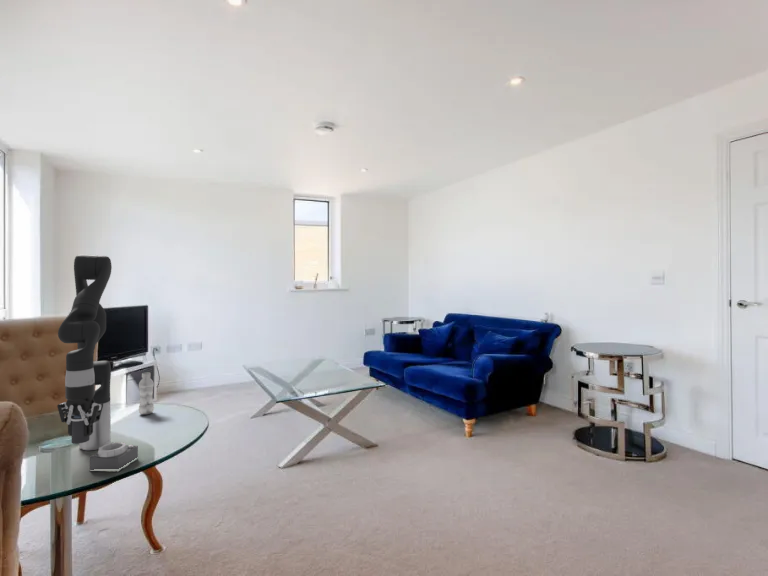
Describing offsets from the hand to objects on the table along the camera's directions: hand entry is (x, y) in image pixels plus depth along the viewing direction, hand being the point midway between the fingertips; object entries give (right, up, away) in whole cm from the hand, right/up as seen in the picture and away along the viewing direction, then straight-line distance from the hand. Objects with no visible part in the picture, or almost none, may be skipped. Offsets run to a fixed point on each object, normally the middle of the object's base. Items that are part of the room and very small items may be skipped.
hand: (80, 434), depth 129 cm
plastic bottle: (-18, -14, +66) cm, 70 cm away
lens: (0, -2, 0) cm, 2 cm away
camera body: (+3, -15, +11) cm, 19 cm away
